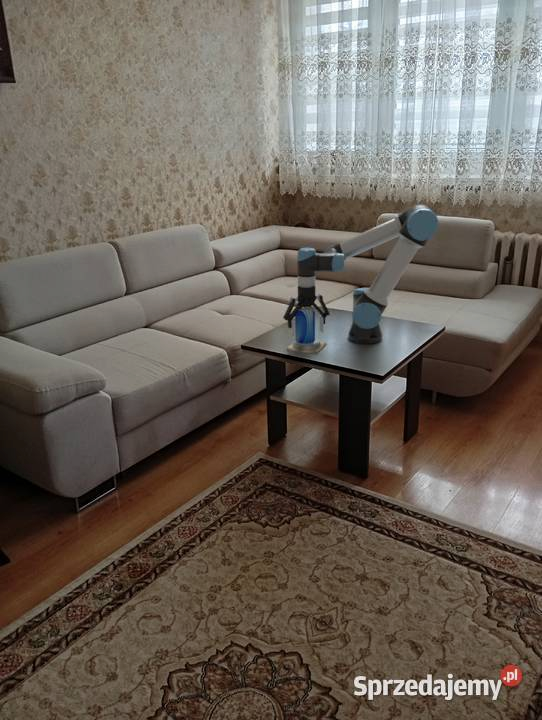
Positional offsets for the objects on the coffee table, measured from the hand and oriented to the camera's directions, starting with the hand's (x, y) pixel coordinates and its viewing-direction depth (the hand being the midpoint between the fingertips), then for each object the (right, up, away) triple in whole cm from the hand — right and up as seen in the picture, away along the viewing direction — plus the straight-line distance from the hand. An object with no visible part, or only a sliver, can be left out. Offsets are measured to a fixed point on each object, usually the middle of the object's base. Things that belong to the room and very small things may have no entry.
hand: (306, 333), depth 264 cm
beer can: (-1, -5, +1) cm, 5 cm away
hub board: (0, -6, +2) cm, 7 cm away
